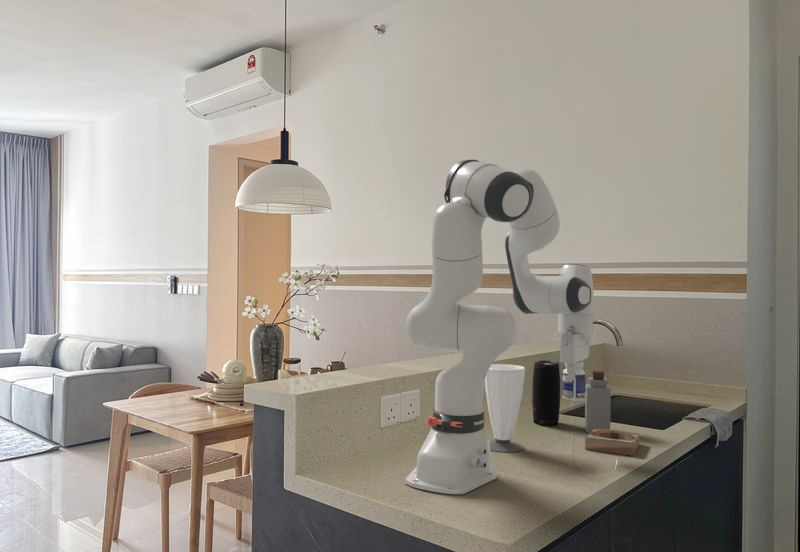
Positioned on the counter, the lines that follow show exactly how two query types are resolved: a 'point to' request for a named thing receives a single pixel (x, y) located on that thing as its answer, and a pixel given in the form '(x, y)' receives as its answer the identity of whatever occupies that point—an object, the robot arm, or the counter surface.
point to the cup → (504, 404)
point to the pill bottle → (574, 384)
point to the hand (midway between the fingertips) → (574, 378)
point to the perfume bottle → (597, 402)
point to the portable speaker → (546, 392)
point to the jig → (612, 441)
